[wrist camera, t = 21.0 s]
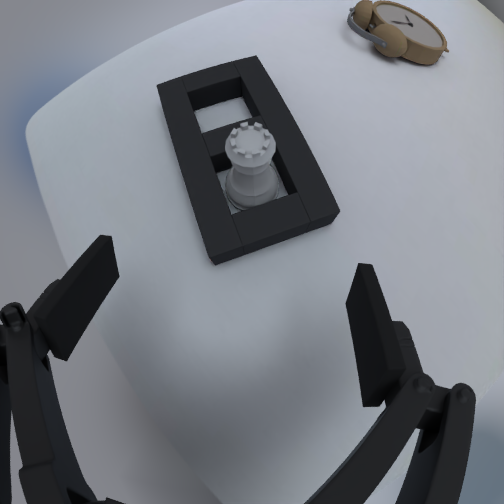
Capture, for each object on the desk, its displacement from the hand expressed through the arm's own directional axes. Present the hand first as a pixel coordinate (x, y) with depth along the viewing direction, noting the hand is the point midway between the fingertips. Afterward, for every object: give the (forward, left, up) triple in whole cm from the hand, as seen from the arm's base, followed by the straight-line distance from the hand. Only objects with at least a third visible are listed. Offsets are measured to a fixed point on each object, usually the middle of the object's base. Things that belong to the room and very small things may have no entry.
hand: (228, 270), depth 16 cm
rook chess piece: (+4, +7, -9) cm, 12 cm away
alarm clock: (+30, +23, -9) cm, 39 cm away
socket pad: (+4, +11, -9) cm, 15 cm away
